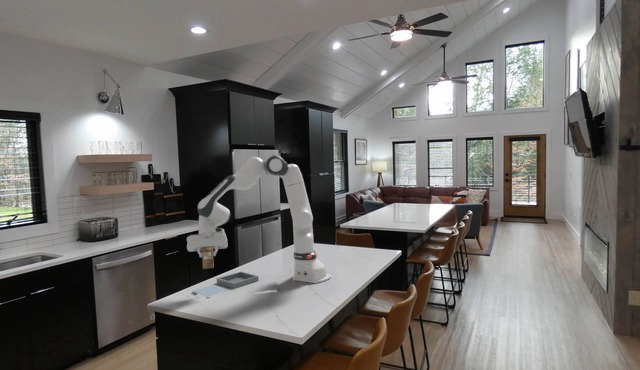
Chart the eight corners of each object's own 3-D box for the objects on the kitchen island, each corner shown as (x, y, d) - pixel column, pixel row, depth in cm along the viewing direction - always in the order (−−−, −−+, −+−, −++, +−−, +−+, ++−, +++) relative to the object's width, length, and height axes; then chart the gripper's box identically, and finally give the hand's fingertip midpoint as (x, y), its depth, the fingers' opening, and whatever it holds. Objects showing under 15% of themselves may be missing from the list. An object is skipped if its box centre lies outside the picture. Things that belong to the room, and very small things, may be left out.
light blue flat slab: (228, 291, 196) (227, 289, 196) (206, 298, 188) (206, 296, 187) (213, 286, 206) (212, 284, 206) (192, 292, 197) (192, 291, 197)
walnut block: (213, 265, 199) (212, 246, 198) (213, 268, 194) (212, 248, 193) (203, 266, 198) (202, 247, 197) (203, 269, 193) (201, 249, 192)
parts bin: (258, 282, 209) (258, 276, 209) (234, 290, 198) (233, 283, 198) (241, 277, 220) (241, 271, 220) (216, 284, 209) (216, 278, 208)
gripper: (186, 232, 199) (185, 254, 190) (226, 228, 204) (227, 250, 195) (187, 238, 204) (186, 261, 195) (227, 235, 208) (228, 257, 200)
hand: (207, 256), depth 195 cm, fingers closed on walnut block, 5 cm apart
